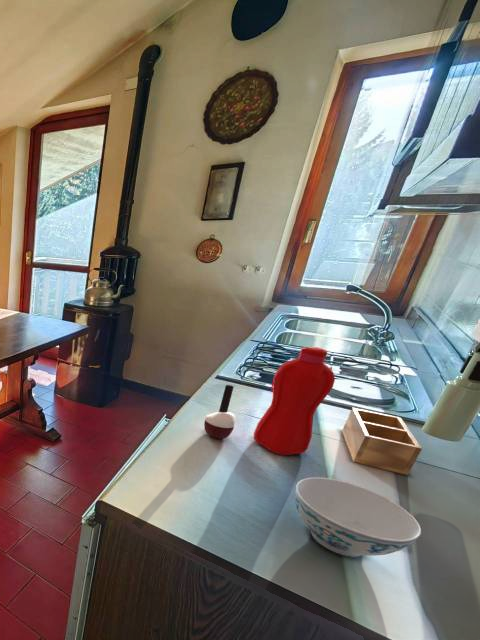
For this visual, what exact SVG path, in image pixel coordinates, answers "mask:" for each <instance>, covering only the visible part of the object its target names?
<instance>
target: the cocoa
mask: <svg viewBox="0 0 480 640" xmlns="http://www.w3.org/2000/svg"><path fill="white" fill-rule="evenodd" d="M234 388H235V387H234V386H233V385H229V384H226V385H225V387H224V390H223V394H222V398H221V402H220V405H219V409H218V410H219V411H216V412H213V413H210V414H207V415H206V416H205V417H204V418H205V419H204V422H203V423H204V431H205V433H206V434H207V435H208V436H210V437H211V438H213V439H218V440H221V439H226V438H228V437H229V436H230V435H231V434H232V432H233V431H234V428H235V424H236V415H234V413H232V412H228V411H229V406H230V403H231V399H232V395H233V391H234Z"/></svg>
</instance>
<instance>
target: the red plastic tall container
mask: <svg viewBox="0 0 480 640" xmlns="http://www.w3.org/2000/svg"><path fill="white" fill-rule="evenodd" d="M327 354H328V350H327V349H325V348H322V347H318V346H316V347H315V346H311V347H301V349H300V352H299V353H298V356H297V358H294V359H291V360H288V361H285V362H284V363H281V364H280V366H279V367H278V369H277V370H276V372H275V374H274V375H273V381H272V383H271V387H270V391H271V393H272V399H271V404H270V405H269V407H268V408H267V410H266V411H265V413H264V414H263V415H262V417H261V418H260V419H259V420H258V422H257V425H256V427H255V430H254V432H253V440H254V441H255V442H256V443H257V444H259V445H260V446H262V447H264V448H265V449H267V450H268V451H270V452H271V453H274V454H277V455H280V456H292V455H302V454H303V453H305V452H306V451H307V450H308V448H309V446H310V443H311V440H312V435H313V426H314V425H313V424H314V415H315V413H316V410H317V409H318V408H319V406H320V405H321V403H323V401H324V400H325V399H326V398H327V396H329V394H330V393H331V391H332V389H333V387H334V384H335V381H336V378H335V374H334V373H335V372H334V371H333V370H332V369H331V368H330V367H329V366H328V365H327V364H325V360H326V358H328V356H327Z"/></svg>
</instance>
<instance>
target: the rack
mask: <svg viewBox="0 0 480 640" xmlns="http://www.w3.org/2000/svg"><path fill="white" fill-rule="evenodd" d="M341 432H342V435H343V438H344V440H345V443H346V446H347V448H348V452H349V454H350V457H351V459H352V462H354V463H358V464H361V465H364V466H365V465H366V466H368V467H369V466H370V467H373V468H377V469H382V470H386V471H389V472H394V473H397V474H401V475H405V476H408V475H409V473H410V472H411V470H412V468H413V466H414V464H415V463H416V461H417V459H418V457H419V455H420V454H421V452H422V450H423V447H422V446H421V445H420V443H419V442H418V441H417V439H416V437H415V436H414V434H413V433H412V431H411V430H410V428H409V427H408V426H407V425H406V423H405V421H404V420H403V419H402V417H401V416H396V415H390V414H384V413H380V412H375V411H371V410H367V409H360V408H355V407H352V408H351V409H350V412H349V414H348V417H347V419H346V421H345V423H344V425H343V428H342V430H341Z"/></svg>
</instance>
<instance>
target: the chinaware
mask: <svg viewBox="0 0 480 640" xmlns="http://www.w3.org/2000/svg"><path fill="white" fill-rule="evenodd" d="M294 490H295V493H294V500H295V507H296V510H297V514H298V515H299V518H300V520H301V521H302V522H303V523H304V525H305V526H306V528H307V529H308V530H309V531H310V534H311V535H312V537H313V538H314V540H315V541H316V542H317V543H318V544H319V545H321V546H323V547H324V548H325V549H327V550H329V551H331V552H334V553H336V554H339V555H342V556H345V557H351V558H352V557H353V558H355V557H361V556H369V557H371V556H374V557H375V556H385V555H389V554H394V553H397V552H399V551H402V550H403V549H405V548H408V546H410V545H411V544H413V543H414V542H415V541H417V540H418V538H419V537H420V536H421V535H422V529H421V526H420V524H419V522H418V520H416V518H415V517H414V516H413V515H412V514H411V513H409V512H408V511H407V510H406V509H405V508H404V507H402V506H401V505H399V504H397V503H396V502H394V501H393V500H390V499H389V498H388V497H385V496H384V495H381V494H379V493H378V492H375V491H372V490H370V489H368V488H366V487H363V486H360V485H357V484H354V483H350V482H347V481H343V480H338V479H334V478H328V477H308V478H307V477H306V478H303V479H301V480H299V481H298V482H297V484H296V486H295V489H294Z"/></svg>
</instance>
